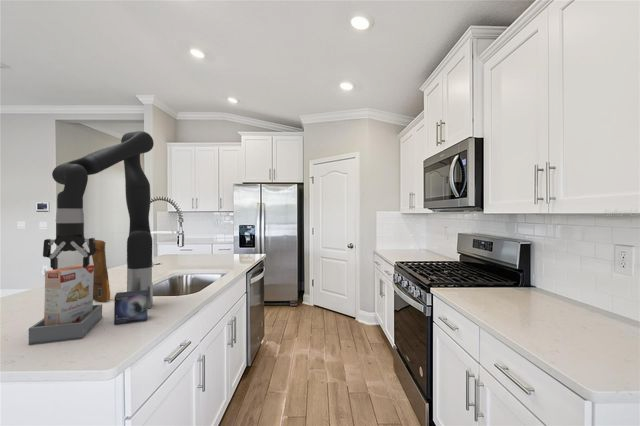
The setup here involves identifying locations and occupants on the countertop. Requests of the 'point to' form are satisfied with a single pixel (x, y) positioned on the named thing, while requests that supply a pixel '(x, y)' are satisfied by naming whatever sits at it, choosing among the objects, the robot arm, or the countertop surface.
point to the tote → (64, 329)
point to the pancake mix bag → (100, 273)
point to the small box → (130, 307)
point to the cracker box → (68, 295)
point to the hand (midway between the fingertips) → (70, 268)
